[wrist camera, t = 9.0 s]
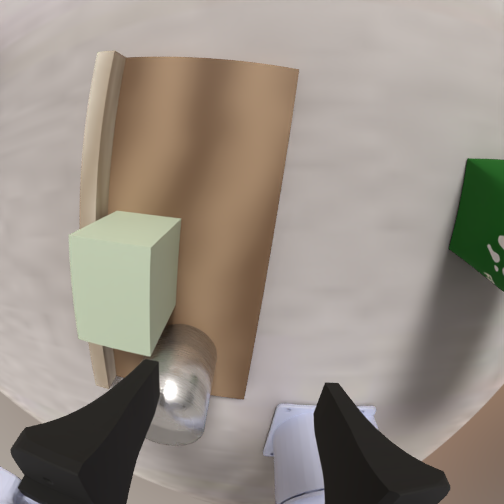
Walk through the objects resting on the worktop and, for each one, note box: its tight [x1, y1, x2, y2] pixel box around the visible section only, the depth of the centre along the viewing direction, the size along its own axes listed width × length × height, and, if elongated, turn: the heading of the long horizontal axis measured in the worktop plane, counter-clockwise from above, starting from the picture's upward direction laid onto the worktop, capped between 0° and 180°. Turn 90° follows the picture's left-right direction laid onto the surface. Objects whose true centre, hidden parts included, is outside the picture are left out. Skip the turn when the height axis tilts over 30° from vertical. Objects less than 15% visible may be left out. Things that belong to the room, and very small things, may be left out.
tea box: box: [69, 211, 181, 357], centre depth 17 cm, size 4×6×6 cm
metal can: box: [140, 324, 217, 446], centre depth 19 cm, size 5×5×7 cm
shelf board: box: [80, 51, 299, 399], centre depth 20 cm, size 12×24×3 cm, turn 172°
